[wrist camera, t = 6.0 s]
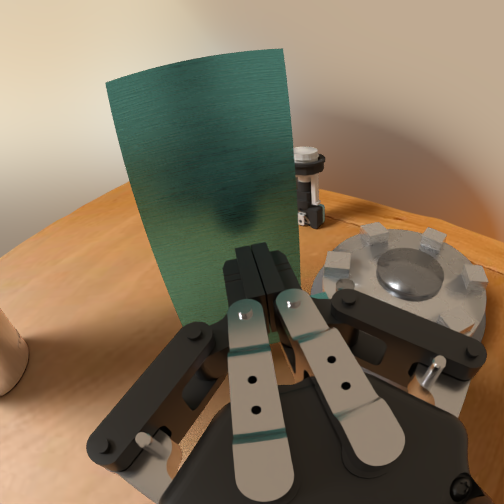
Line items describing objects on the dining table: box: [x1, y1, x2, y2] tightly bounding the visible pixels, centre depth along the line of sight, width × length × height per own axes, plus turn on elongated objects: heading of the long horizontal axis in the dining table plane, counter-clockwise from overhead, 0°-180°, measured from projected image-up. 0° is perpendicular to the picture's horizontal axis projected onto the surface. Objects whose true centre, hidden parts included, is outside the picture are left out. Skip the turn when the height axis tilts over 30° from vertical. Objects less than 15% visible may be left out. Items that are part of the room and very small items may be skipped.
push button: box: [293, 147, 325, 229], centre depth 37 cm, size 7×5×10 cm
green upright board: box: [106, 49, 488, 344], centre depth 17 cm, size 26×15×19 cm, turn 101°
